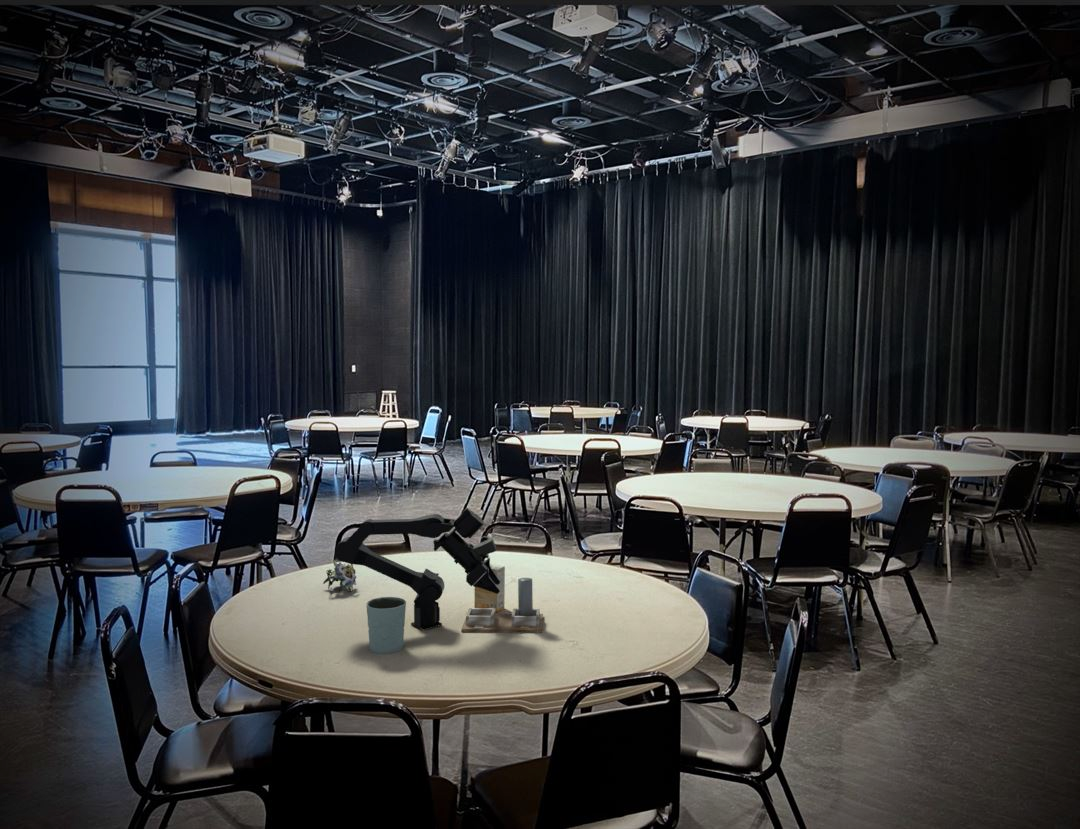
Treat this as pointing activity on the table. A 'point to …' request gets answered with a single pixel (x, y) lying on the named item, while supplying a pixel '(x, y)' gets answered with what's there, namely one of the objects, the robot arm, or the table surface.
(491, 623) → the socket board
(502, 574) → the supplement box
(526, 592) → the plug
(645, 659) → the table surface
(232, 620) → the table surface
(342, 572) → the passion flower
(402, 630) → the light blue cup
